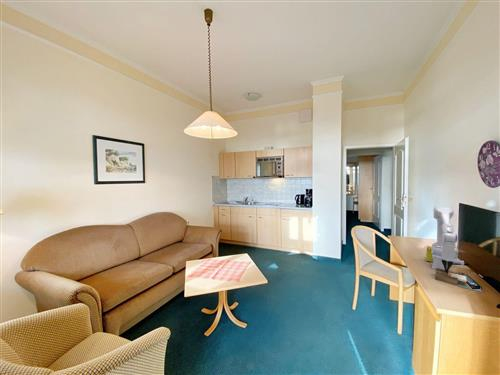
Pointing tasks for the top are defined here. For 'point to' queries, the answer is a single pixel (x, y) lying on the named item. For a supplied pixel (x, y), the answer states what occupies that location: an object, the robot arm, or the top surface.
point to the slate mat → (467, 286)
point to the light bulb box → (456, 254)
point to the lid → (460, 277)
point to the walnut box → (445, 276)
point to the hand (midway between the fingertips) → (446, 272)
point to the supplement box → (429, 255)
